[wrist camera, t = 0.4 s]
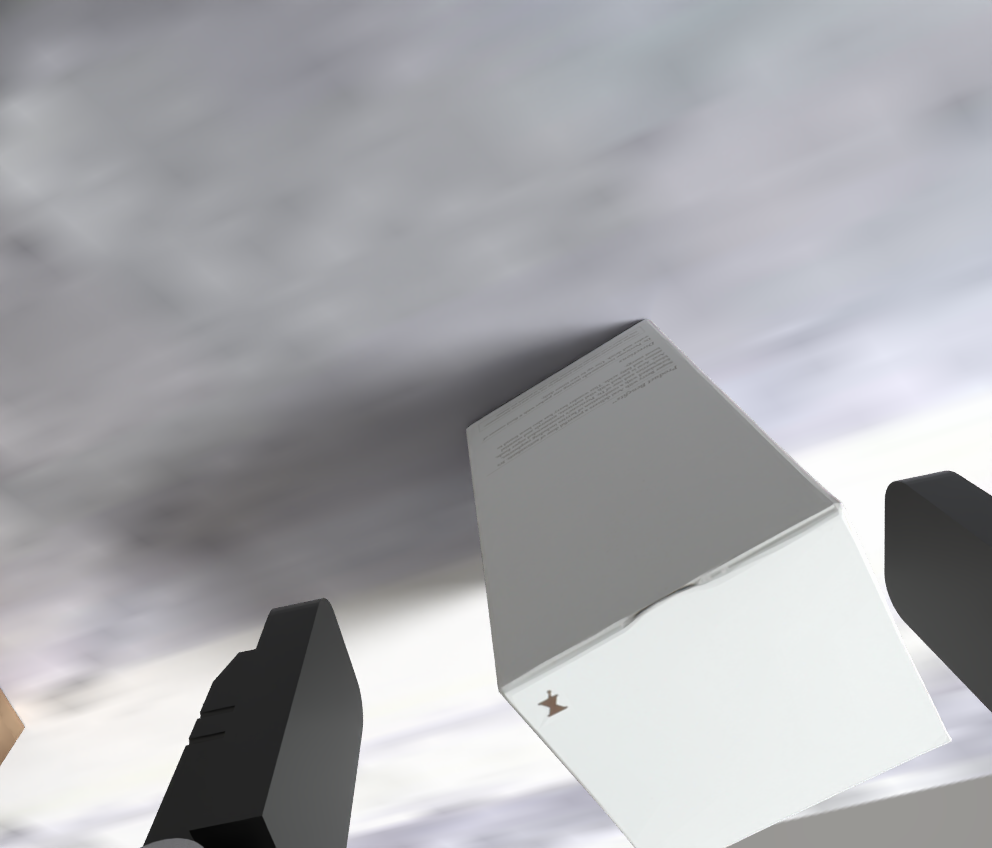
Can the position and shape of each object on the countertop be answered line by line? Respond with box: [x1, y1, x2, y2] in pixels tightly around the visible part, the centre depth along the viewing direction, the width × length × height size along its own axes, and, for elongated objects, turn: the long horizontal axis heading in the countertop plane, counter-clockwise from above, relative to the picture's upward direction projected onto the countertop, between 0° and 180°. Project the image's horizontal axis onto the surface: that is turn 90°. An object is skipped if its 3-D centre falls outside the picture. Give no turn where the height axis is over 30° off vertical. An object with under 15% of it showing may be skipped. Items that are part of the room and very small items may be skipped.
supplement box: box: [466, 319, 952, 848], centre depth 24 cm, size 9×9×15 cm
